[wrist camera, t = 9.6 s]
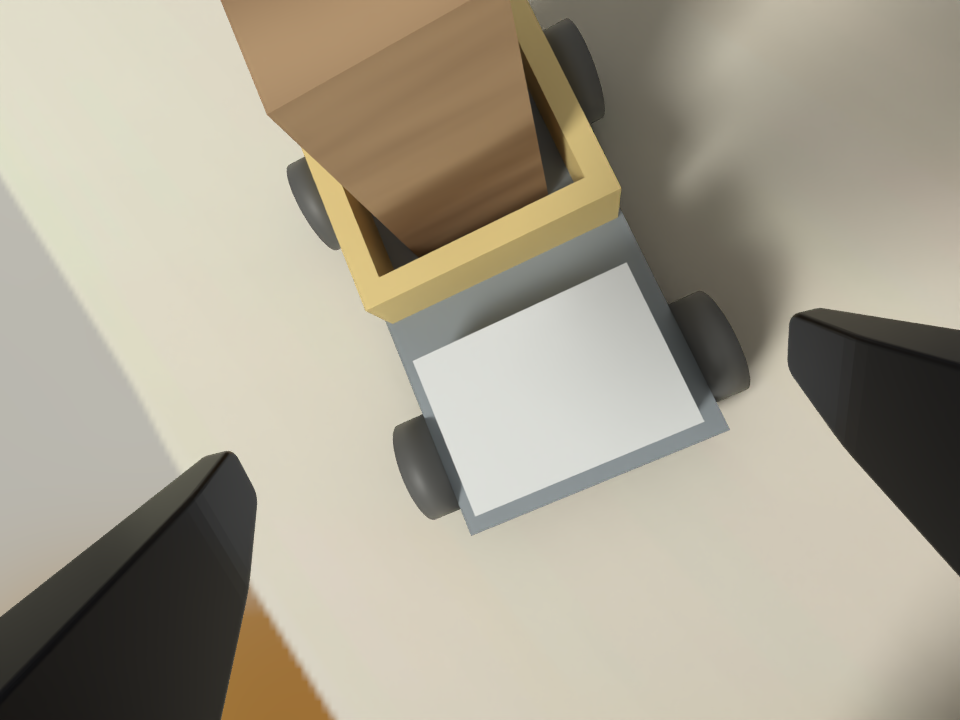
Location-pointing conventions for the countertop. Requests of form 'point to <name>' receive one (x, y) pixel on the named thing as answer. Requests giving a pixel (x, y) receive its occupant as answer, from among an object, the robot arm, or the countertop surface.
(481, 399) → the toy chassis
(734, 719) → the countertop surface
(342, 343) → the countertop surface
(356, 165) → the walnut block
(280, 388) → the countertop surface
